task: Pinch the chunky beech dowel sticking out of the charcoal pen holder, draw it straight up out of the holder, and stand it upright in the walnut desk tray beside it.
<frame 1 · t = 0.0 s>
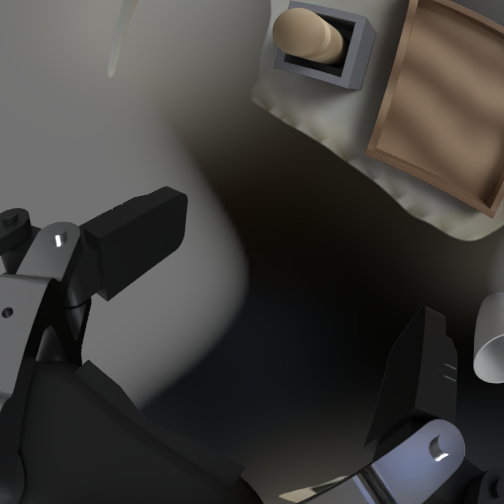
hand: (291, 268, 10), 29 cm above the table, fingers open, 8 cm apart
tray: (460, 99, 25), on the table
dowel: (337, 51, 29), point 1 cm above the table, touching pen holder
pen holder: (338, 51, 29), on the table
cup: (495, 306, 33), on the table
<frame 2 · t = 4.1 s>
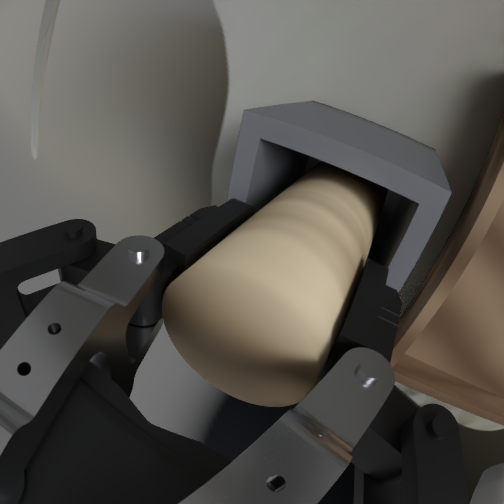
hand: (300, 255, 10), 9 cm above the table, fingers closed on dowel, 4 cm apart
dowel: (352, 183, 17), point 1 cm above the table, touching gripper, pen holder
pen holder: (354, 180, 17), on the table
cup: (500, 469, 21), on the table
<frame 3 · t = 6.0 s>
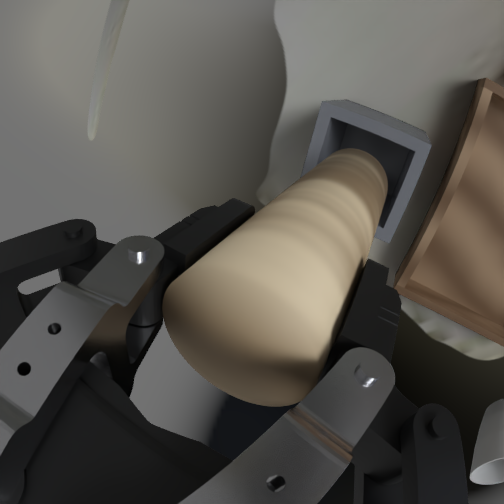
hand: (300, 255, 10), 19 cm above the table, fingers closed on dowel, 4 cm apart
dowel: (352, 183, 17), point 11 cm above the table, touching gripper
pen holder: (373, 152, 25), on the table
cup: (500, 408, 29), on the table
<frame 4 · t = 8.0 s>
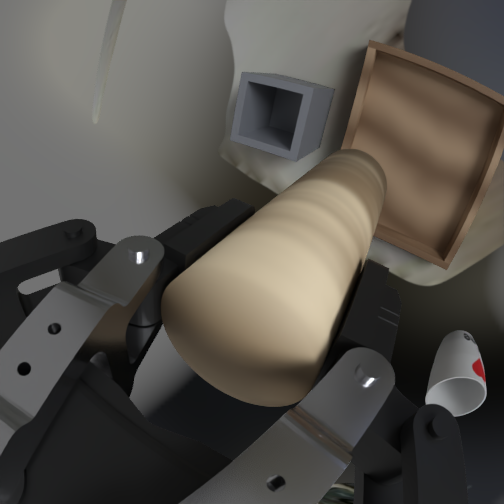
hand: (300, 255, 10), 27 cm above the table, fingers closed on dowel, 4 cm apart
tray: (418, 153, 30), on the table
dowel: (351, 183, 17), point 19 cm above the table, touching gripper
pen holder: (297, 109, 34), on the table
cup: (457, 343, 37), on the table
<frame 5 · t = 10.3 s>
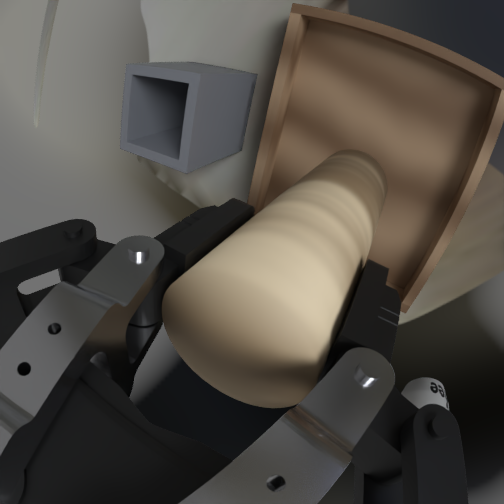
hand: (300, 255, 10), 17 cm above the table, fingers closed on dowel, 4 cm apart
tray: (370, 156, 23), on the table
dowel: (352, 184, 17), point 8 cm above the table, touching gripper
pen holder: (214, 103, 27), on the table
cup: (423, 390, 31), on the table
when the fingers open (11 cm above the table, at t = 12.3 s): dowel drops 1 cm, resting on tray.
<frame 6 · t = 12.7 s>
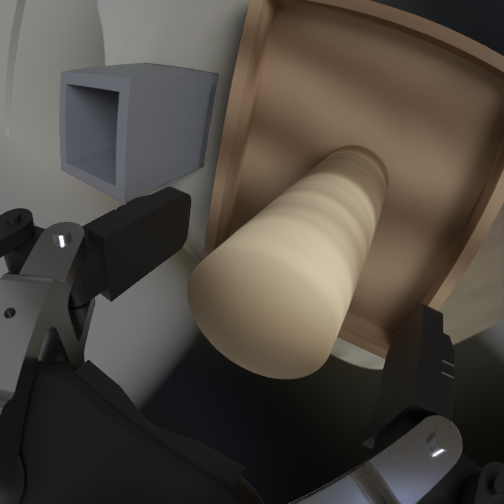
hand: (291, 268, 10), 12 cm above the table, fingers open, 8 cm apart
tray: (358, 174, 18), on the table
dowel: (355, 178, 18), point 1 cm above the table, touching tray
pen holder: (172, 111, 22), on the table
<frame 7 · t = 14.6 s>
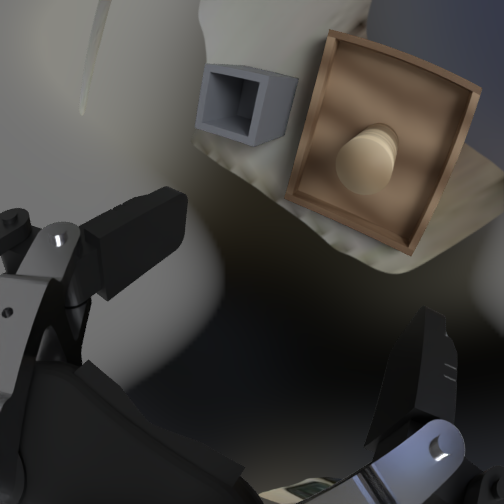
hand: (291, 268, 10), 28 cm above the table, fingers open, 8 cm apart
tray: (381, 139, 31), on the table
dowel: (380, 141, 30), point 1 cm above the table, touching tray
pen holder: (263, 99, 35), on the table
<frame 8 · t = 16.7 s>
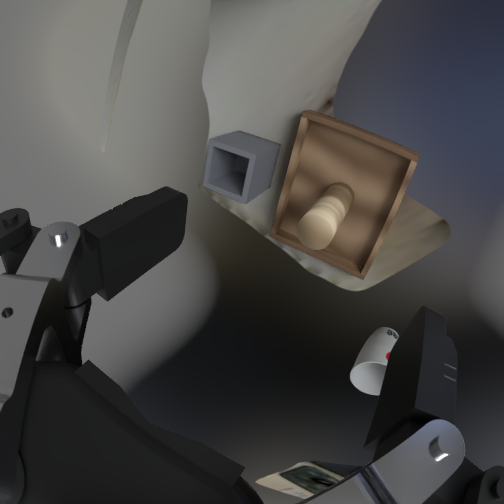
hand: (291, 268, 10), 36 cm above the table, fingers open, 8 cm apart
tray: (342, 193, 44), on the table
dowel: (340, 195, 44), point 1 cm above the table, touching tray
pen holder: (254, 158, 48), on the table
cup: (385, 337, 52), on the table
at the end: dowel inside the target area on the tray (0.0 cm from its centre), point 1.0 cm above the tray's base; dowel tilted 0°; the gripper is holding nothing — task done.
